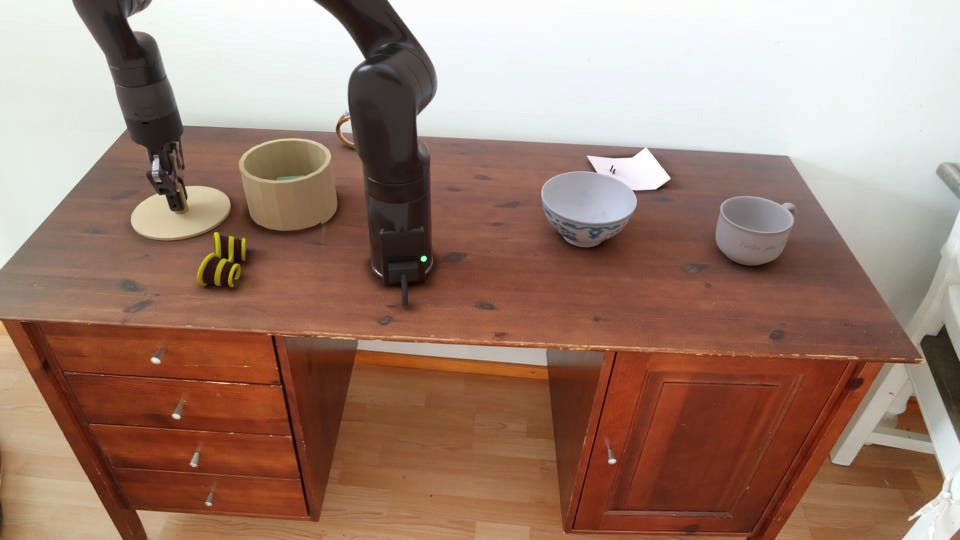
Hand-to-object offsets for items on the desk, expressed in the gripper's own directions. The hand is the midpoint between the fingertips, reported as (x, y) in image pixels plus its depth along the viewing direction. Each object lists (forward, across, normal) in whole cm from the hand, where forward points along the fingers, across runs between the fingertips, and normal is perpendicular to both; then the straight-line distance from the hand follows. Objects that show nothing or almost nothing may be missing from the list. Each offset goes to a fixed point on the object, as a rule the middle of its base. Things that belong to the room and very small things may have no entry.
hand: (179, 204), depth 108 cm
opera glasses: (+2, +16, +9) cm, 19 cm away
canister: (+2, 0, +18) cm, 18 cm away
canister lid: (+2, 0, 0) cm, 2 cm away
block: (+2, 0, +18) cm, 18 cm away
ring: (+2, -20, +29) cm, 35 cm away
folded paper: (+2, -4, +79) cm, 79 cm away
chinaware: (+2, +14, +65) cm, 67 cm away
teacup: (+2, +22, +91) cm, 94 cm away
